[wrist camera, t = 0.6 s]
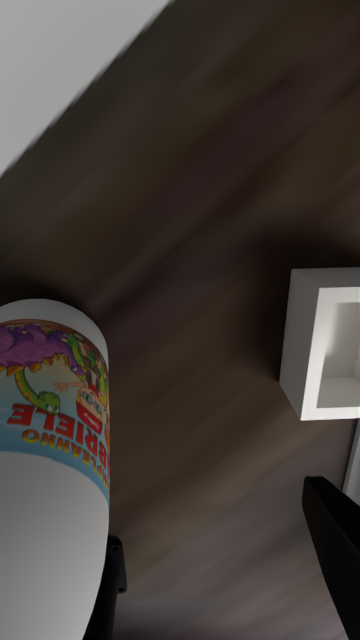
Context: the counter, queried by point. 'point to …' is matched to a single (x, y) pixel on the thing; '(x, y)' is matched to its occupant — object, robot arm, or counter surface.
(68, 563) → the milk bottle
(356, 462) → the mat
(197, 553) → the counter surface
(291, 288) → the dish
